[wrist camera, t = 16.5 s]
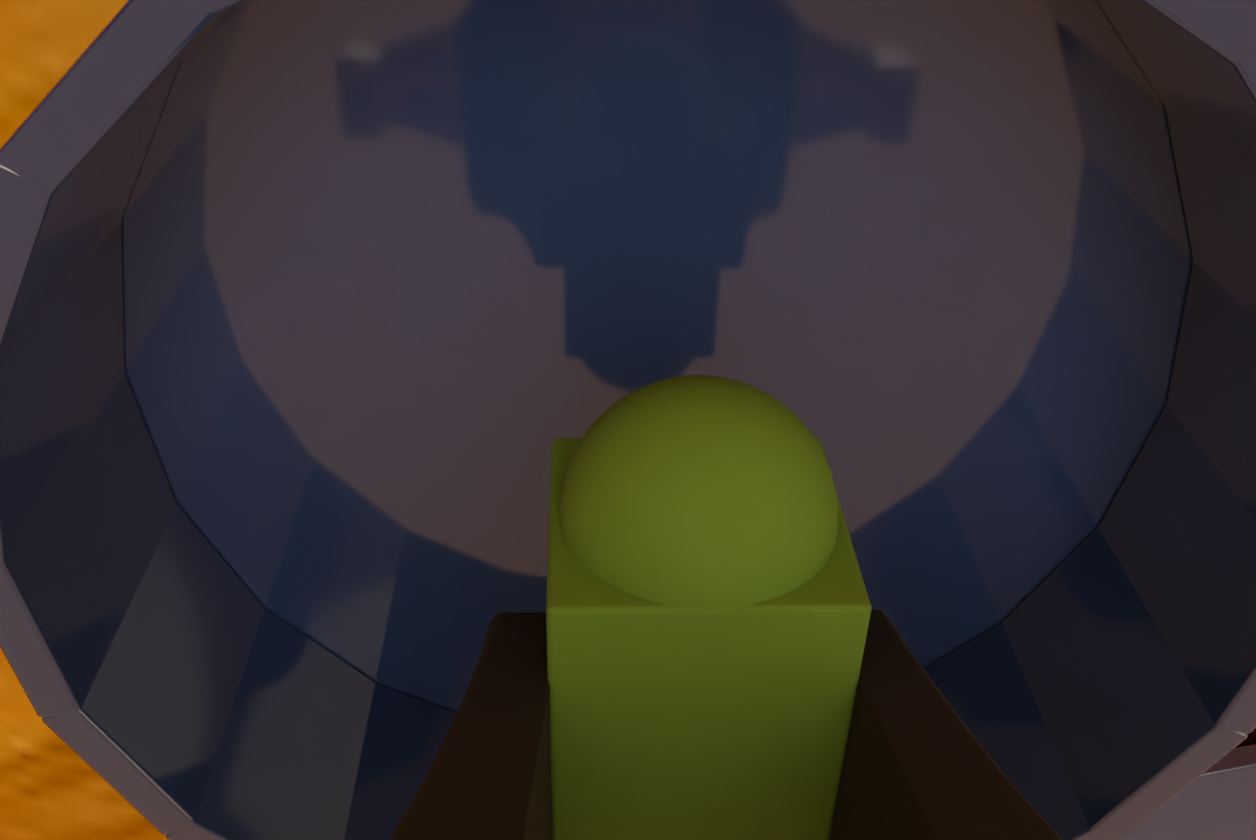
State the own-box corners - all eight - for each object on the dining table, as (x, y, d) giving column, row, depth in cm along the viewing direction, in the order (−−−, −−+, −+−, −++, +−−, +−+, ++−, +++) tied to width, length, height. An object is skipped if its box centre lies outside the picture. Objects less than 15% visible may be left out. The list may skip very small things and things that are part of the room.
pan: (68, -425, 13) (-181, -457, 9) (1448, -77, 15) (1773, 28, 11) (107, 679, 22) (-4, 922, 18) (965, 783, 24) (1044, 1018, 20)
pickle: (549, 324, 12) (543, 486, 10) (836, 324, 12) (897, 484, 10) (557, 793, 16) (553, 985, 14) (772, 790, 16) (805, 981, 14)
